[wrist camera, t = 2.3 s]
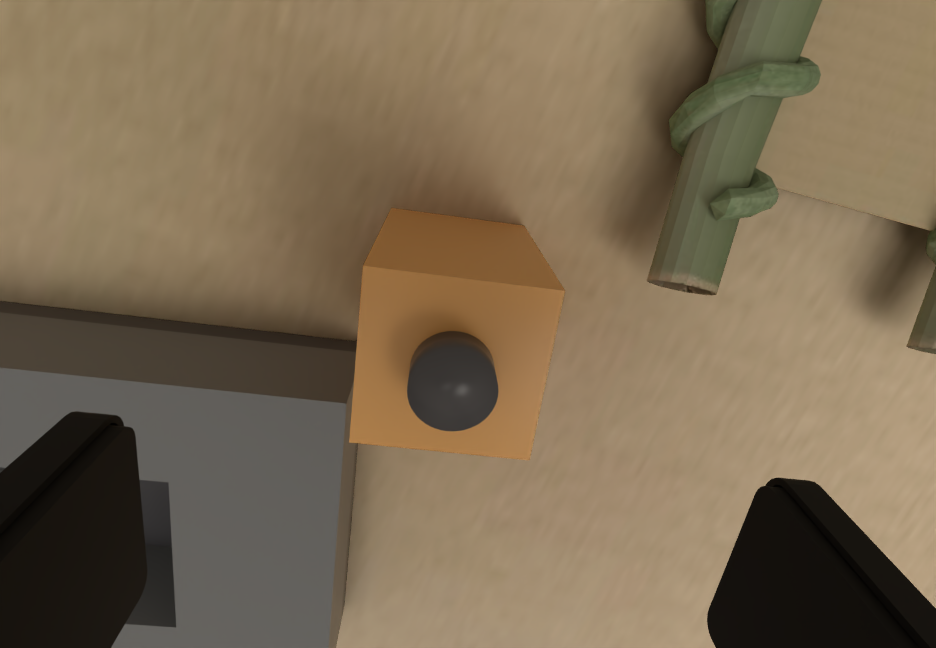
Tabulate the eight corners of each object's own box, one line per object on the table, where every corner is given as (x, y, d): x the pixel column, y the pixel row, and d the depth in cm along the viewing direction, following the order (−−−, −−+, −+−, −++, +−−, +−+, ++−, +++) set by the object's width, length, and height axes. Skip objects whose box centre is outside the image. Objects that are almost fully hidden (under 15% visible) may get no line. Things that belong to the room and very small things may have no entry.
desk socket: (366, 342, 23) (345, 406, 18) (344, 604, 28) (323, 709, 23) (-115, 288, 22) (-276, 342, 17) (-49, 575, 27) (-159, 681, 22)
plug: (523, 225, 22) (575, 306, 13) (502, 346, 24) (535, 487, 15) (391, 207, 21) (355, 280, 13) (379, 331, 23) (341, 469, 15)
